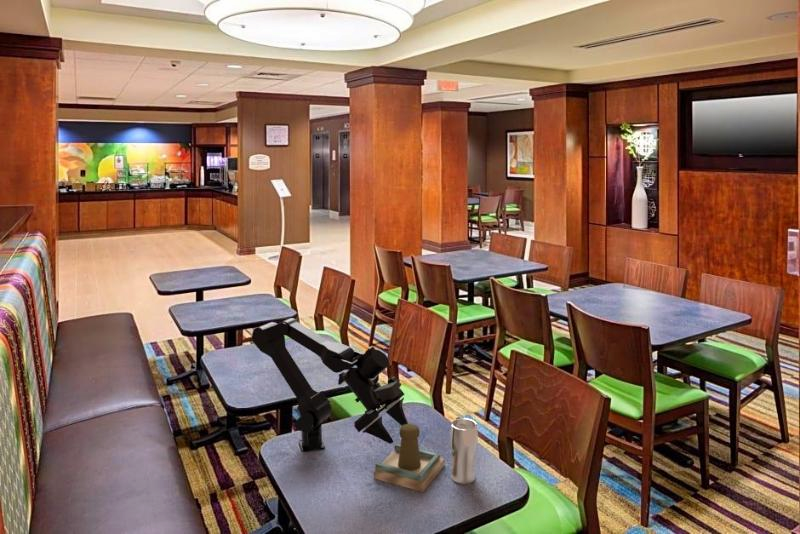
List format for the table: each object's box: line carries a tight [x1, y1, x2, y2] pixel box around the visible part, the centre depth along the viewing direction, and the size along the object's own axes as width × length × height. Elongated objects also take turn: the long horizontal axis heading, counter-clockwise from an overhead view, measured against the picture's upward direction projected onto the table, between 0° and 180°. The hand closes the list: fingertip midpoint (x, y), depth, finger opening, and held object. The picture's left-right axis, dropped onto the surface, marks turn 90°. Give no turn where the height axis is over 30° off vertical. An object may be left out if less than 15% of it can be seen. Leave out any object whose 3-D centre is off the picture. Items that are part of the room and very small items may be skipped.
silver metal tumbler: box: [449, 417, 479, 485], centre depth 152 cm, size 7×7×15 cm
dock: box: [373, 443, 445, 493], centre depth 156 cm, size 14×14×4 cm
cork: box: [398, 423, 421, 471], centre depth 155 cm, size 6×6×11 cm
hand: (400, 435), depth 156 cm, fingers open, 9 cm apart
